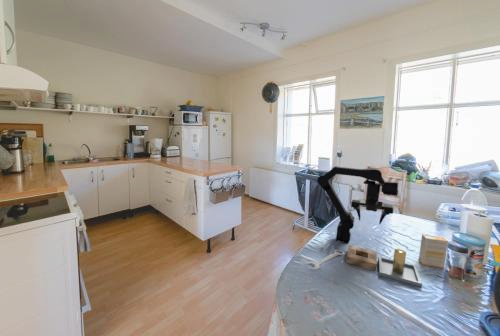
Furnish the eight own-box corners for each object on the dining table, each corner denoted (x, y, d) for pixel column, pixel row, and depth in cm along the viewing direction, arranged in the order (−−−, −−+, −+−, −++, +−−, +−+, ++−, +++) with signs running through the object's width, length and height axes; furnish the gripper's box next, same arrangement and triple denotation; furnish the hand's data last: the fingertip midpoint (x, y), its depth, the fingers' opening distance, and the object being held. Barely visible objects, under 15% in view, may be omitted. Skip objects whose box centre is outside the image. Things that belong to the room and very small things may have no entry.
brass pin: (392, 272, 93) (394, 252, 91) (391, 267, 96) (394, 248, 95) (404, 275, 91) (406, 255, 89) (403, 270, 94) (405, 250, 93)
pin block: (346, 262, 100) (346, 256, 100) (348, 250, 111) (349, 245, 110) (376, 270, 95) (377, 264, 94) (375, 257, 105) (376, 251, 105)
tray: (379, 276, 91) (379, 272, 90) (378, 260, 103) (378, 256, 102) (421, 288, 84) (422, 283, 84) (415, 269, 96) (415, 265, 96)
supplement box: (439, 263, 102) (443, 236, 100) (444, 269, 97) (449, 241, 95) (417, 259, 104) (421, 233, 102) (421, 265, 100) (426, 237, 98)
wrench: (304, 267, 97) (314, 273, 93) (304, 263, 97) (314, 269, 93) (337, 250, 112) (346, 254, 108) (337, 247, 112) (347, 251, 107)
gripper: (351, 193, 109) (348, 223, 112) (396, 199, 101) (391, 232, 103) (353, 189, 119) (350, 216, 121) (393, 194, 110) (390, 223, 113)
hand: (369, 222), depth 114 cm, fingers open, 9 cm apart
